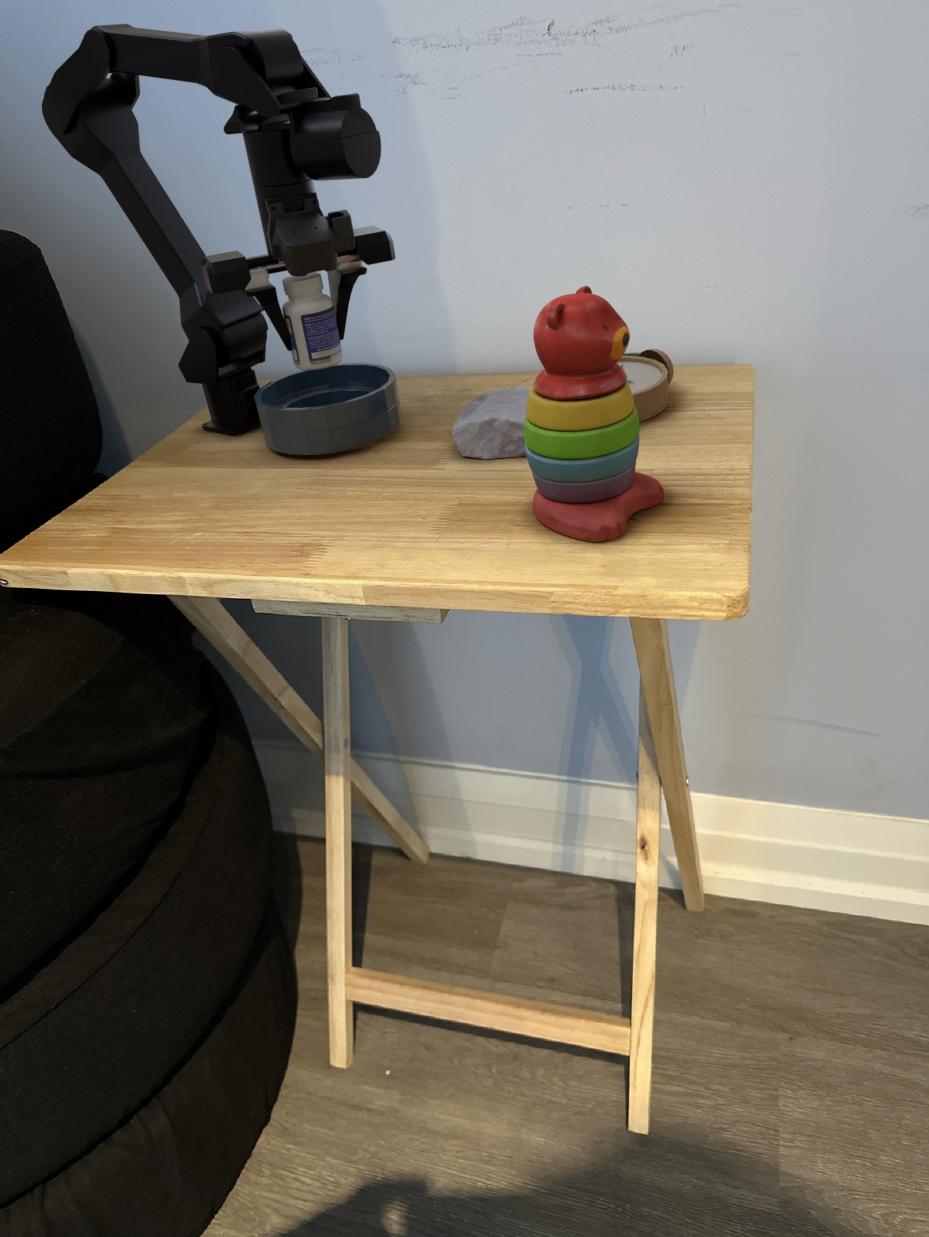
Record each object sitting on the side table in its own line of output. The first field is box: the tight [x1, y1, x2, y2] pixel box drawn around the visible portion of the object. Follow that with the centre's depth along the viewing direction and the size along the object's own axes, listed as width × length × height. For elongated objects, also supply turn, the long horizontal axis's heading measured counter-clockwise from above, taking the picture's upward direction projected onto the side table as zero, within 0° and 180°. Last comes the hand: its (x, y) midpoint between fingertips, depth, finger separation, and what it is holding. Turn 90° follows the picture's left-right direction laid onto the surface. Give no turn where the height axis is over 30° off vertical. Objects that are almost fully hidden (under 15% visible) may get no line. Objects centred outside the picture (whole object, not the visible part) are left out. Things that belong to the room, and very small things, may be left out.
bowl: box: [254, 362, 403, 456], centre depth 101 cm, size 15×15×6 cm
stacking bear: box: [524, 285, 665, 542], centre depth 74 cm, size 11×10×18 cm
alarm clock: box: [617, 348, 674, 422], centre depth 99 cm, size 11×5×15 cm
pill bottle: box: [281, 272, 344, 371], centre depth 96 cm, size 5×5×9 cm
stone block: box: [451, 386, 531, 460], centre depth 95 cm, size 12×5×10 cm
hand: (315, 344), depth 97 cm, fingers closed on pill bottle, 5 cm apart
